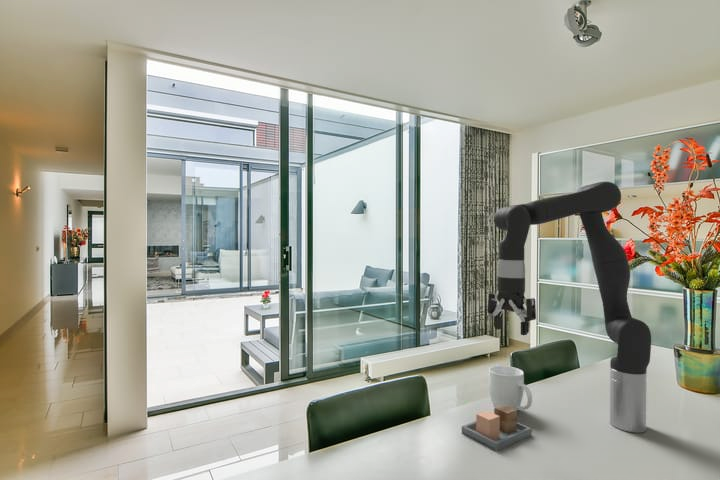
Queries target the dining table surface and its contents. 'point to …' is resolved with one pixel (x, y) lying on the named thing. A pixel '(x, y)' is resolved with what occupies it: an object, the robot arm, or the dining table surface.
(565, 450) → the dining table surface
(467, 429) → the tray
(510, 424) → the block
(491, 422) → the block
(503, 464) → the dining table surface
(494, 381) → the mug
